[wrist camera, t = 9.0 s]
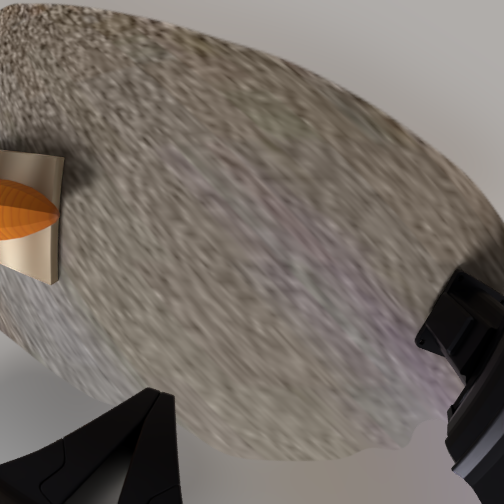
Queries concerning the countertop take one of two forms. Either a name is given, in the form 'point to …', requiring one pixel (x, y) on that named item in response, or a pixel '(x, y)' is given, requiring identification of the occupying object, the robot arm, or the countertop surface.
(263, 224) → the countertop surface
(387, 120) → the countertop surface
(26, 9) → the countertop surface
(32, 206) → the carrot
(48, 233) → the cutting board
